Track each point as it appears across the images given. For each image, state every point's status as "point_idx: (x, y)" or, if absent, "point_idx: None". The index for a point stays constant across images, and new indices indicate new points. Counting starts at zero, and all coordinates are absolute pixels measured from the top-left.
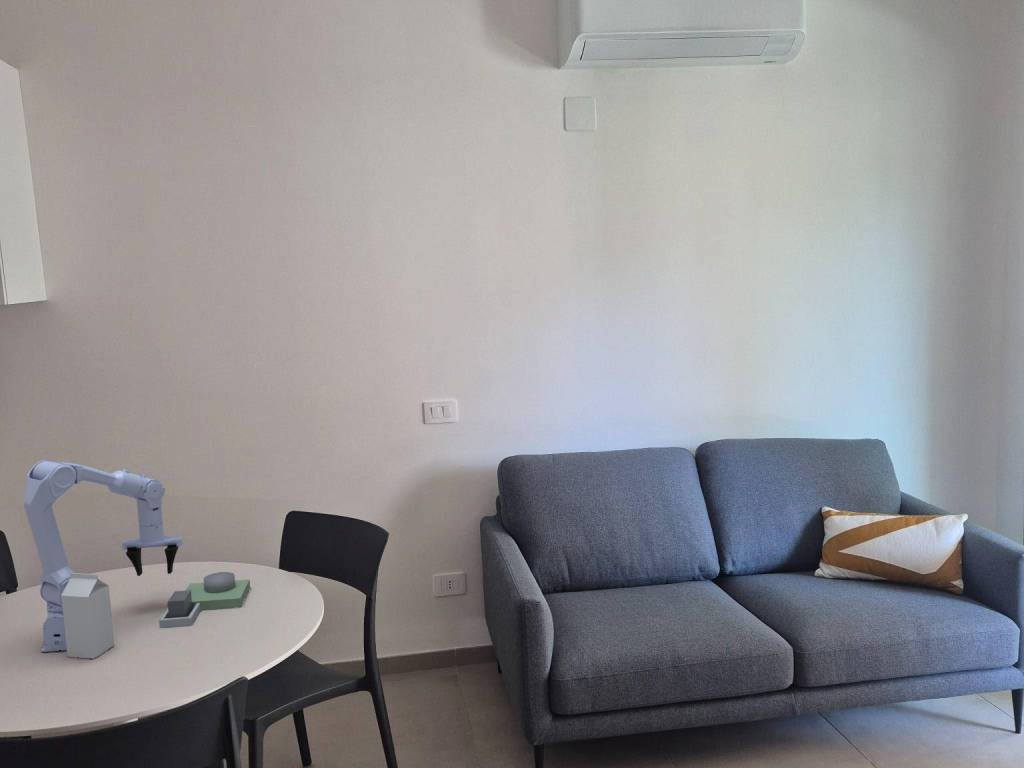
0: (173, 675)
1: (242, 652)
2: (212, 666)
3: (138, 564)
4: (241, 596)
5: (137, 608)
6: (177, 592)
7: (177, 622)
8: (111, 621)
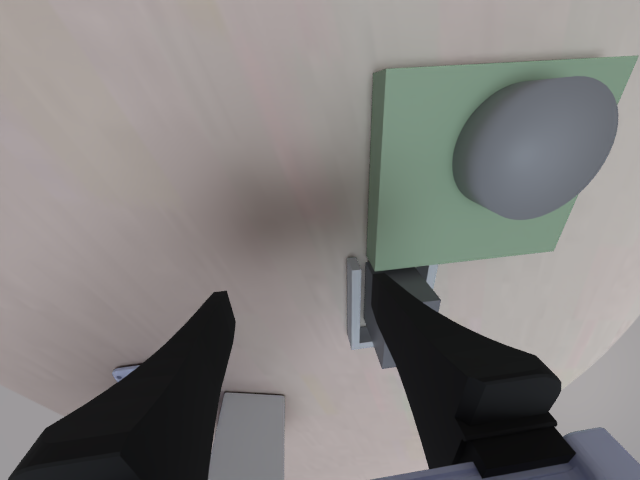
0: (410, 444)
1: None
2: None
3: (216, 375)
4: (558, 231)
5: (227, 220)
6: None
7: None
8: (283, 456)
